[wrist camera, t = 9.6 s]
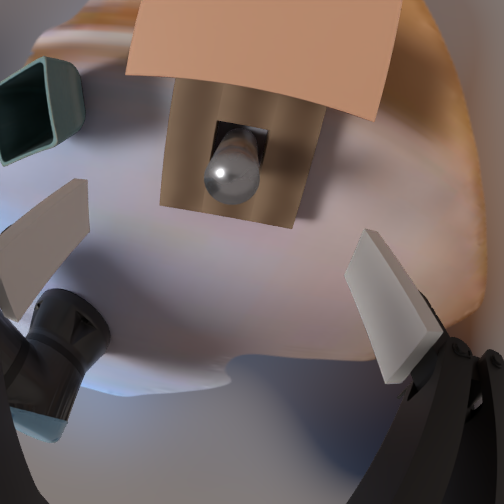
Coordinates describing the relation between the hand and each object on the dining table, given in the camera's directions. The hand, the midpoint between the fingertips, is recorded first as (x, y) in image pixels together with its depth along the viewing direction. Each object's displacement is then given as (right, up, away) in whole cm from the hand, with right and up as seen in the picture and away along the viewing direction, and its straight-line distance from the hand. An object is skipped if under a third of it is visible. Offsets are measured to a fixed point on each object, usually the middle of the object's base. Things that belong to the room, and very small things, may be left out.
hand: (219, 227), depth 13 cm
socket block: (0, +10, +16) cm, 19 cm away
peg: (0, +10, +16) cm, 19 cm away
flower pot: (-20, +16, +12) cm, 28 cm away
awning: (+3, +19, +10) cm, 22 cm away
